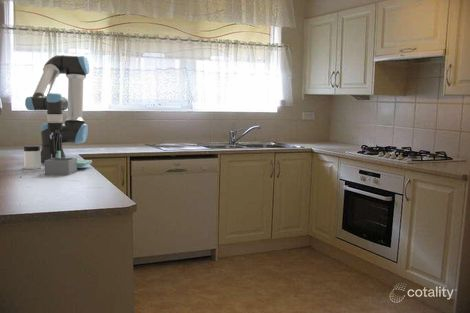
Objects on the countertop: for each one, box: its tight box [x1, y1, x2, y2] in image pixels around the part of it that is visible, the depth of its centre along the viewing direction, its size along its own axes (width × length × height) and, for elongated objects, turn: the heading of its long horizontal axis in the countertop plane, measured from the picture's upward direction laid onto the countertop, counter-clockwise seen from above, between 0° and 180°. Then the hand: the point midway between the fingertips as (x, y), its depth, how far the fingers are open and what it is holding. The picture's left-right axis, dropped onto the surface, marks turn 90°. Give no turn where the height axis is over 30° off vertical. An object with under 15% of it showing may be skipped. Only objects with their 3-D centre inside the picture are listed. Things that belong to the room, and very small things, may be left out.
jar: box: [22, 144, 42, 170], centre depth 269 cm, size 9×8×12 cm
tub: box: [43, 157, 78, 176], centre depth 252 cm, size 12×12×7 cm
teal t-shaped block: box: [51, 151, 93, 168], centre depth 269 cm, size 13×20×8 cm, turn 89°
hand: (56, 165), depth 270 cm, fingers closed on teal t-shaped block, 3 cm apart
